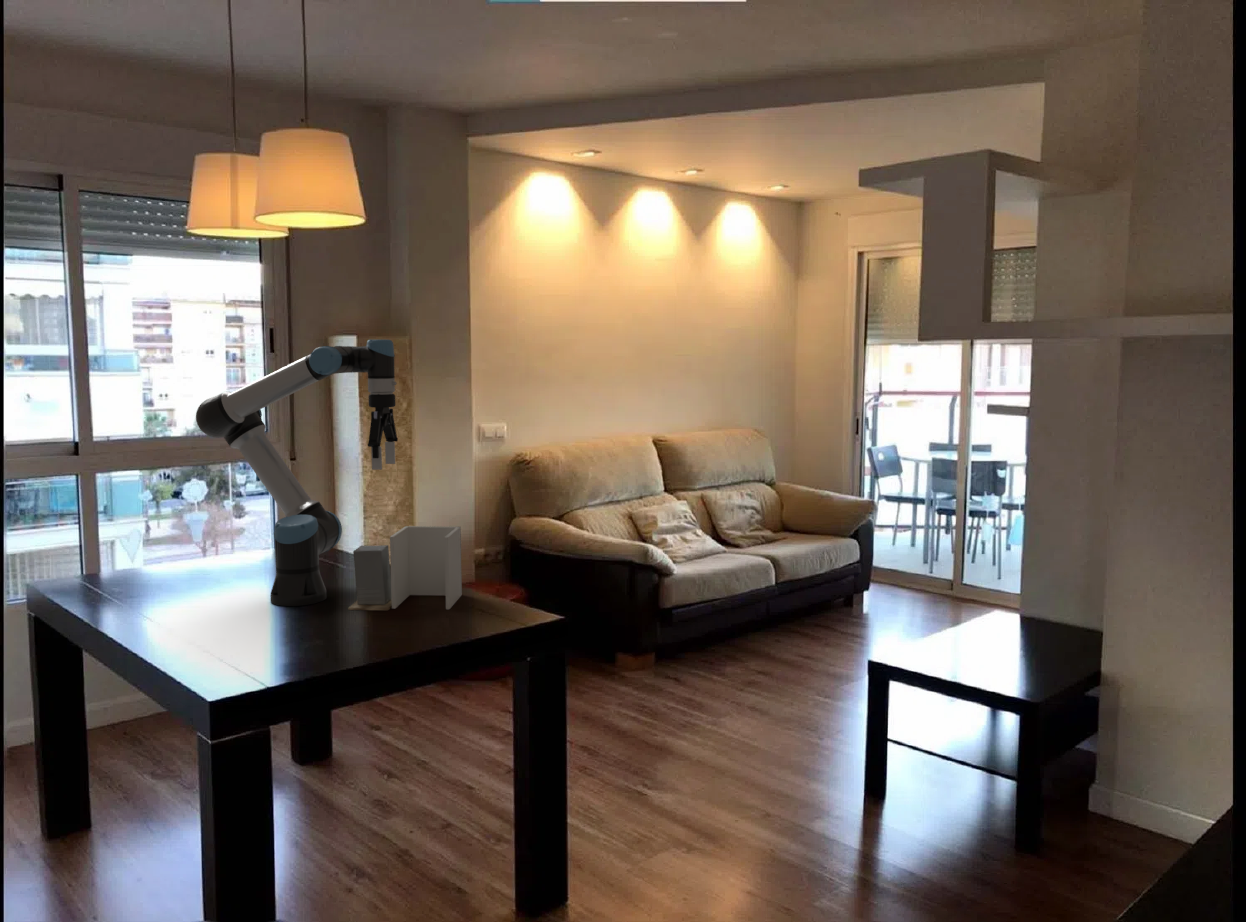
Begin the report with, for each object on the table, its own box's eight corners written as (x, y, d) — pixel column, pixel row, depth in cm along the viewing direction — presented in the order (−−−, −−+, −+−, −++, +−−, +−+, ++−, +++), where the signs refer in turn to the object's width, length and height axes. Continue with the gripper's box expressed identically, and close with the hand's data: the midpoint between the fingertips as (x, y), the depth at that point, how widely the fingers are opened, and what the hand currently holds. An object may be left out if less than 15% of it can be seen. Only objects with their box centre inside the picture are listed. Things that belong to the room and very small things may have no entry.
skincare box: (392, 599, 283) (391, 544, 281) (384, 606, 276) (382, 549, 274) (363, 599, 284) (361, 543, 282) (354, 605, 277) (352, 549, 275)
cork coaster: (348, 609, 275) (348, 607, 275) (361, 598, 287) (361, 596, 286) (388, 610, 274) (387, 608, 274) (399, 599, 286) (399, 597, 286)
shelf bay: (391, 608, 276) (389, 536, 274) (407, 594, 292) (405, 526, 290) (449, 609, 275) (448, 537, 273) (461, 594, 291) (460, 526, 289)
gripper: (382, 395, 277) (384, 472, 279) (406, 391, 302) (408, 461, 304) (355, 395, 277) (357, 471, 280) (381, 391, 302) (383, 461, 305)
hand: (383, 466), depth 292 cm, fingers open, 13 cm apart
